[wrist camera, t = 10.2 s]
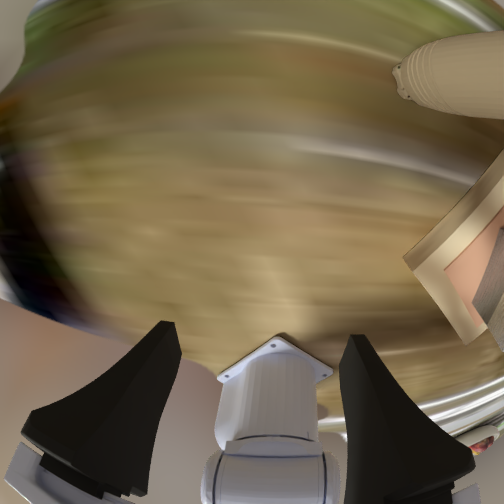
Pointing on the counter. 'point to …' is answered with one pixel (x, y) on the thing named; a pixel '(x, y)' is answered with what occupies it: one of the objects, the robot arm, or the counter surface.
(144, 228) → the counter surface
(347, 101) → the counter surface
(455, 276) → the stand
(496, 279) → the block
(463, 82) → the handle
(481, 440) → the bowl
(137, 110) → the counter surface
